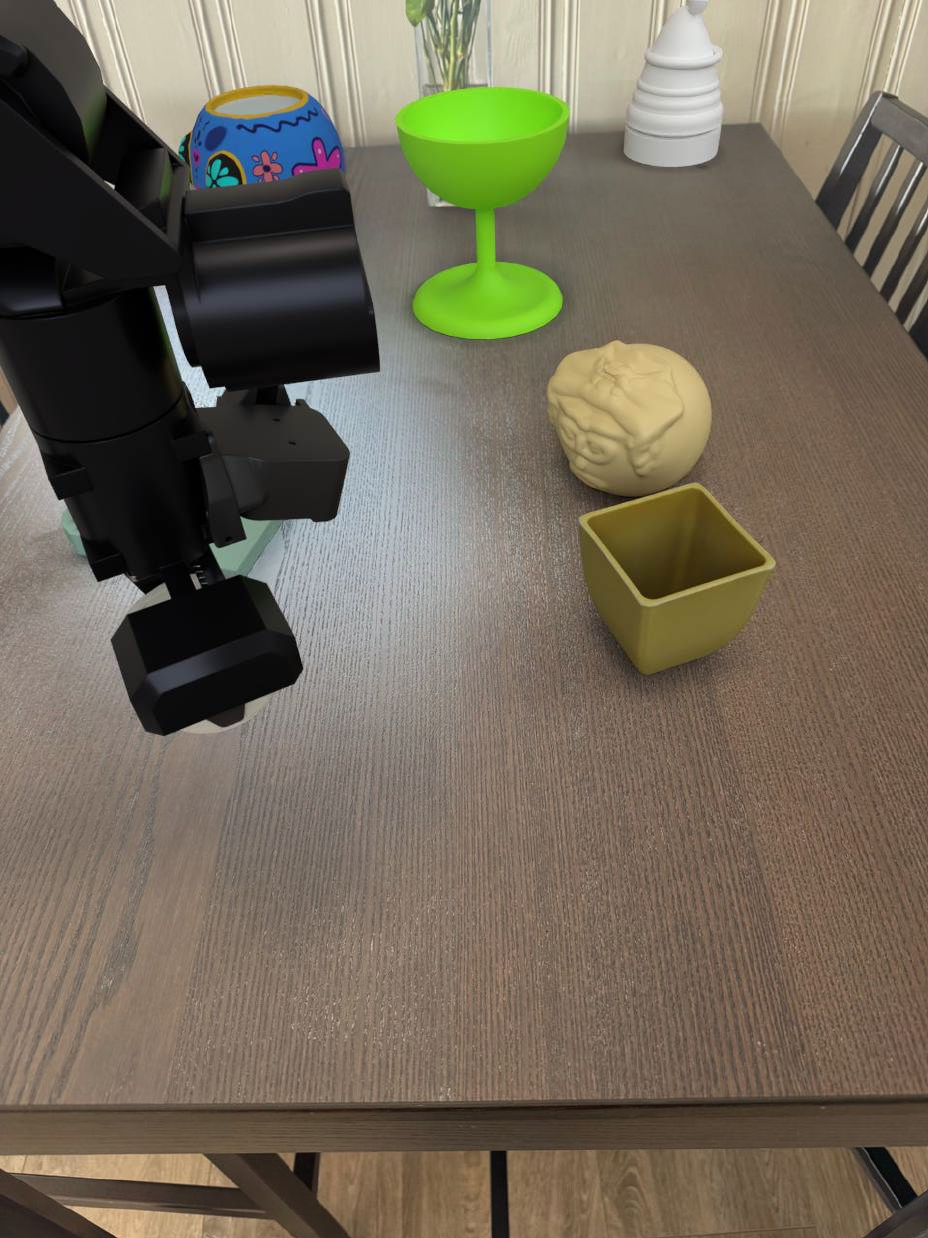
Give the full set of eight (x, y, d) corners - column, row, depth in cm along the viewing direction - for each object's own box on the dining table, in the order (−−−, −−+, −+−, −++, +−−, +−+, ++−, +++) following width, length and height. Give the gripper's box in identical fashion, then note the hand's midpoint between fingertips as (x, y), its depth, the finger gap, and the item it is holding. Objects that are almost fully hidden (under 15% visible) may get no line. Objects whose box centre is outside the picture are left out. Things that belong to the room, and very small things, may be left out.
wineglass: (393, 332, 89) (372, 140, 76) (434, 263, 99) (421, 84, 86) (548, 345, 86) (554, 147, 73) (573, 272, 96) (582, 88, 83)
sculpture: (524, 470, 72) (525, 351, 64) (624, 413, 77) (636, 296, 69) (627, 537, 65) (642, 414, 58) (729, 470, 70) (755, 349, 63)
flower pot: (568, 614, 60) (575, 514, 54) (680, 580, 62) (699, 478, 56) (629, 708, 54) (644, 607, 48) (750, 666, 56) (780, 564, 50)
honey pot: (737, 152, 119) (764, -7, 106) (663, 174, 115) (681, 11, 102) (676, 128, 127) (694, -24, 114) (604, 147, 123) (614, -8, 110)
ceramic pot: (188, 233, 108) (151, 98, 97) (315, 197, 115) (294, 66, 104) (244, 283, 98) (210, 138, 87) (381, 241, 104) (365, 100, 93)
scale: (61, 559, 67) (45, 529, 64) (148, 461, 75) (137, 432, 73) (235, 592, 63) (225, 562, 61) (306, 486, 72) (299, 456, 69)
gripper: (407, 462, 29) (437, 740, 40) (239, 255, 41) (299, 515, 52) (64, 577, 26) (201, 844, 37) (-11, 316, 37) (111, 580, 49)
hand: (211, 670), depth 44 cm, fingers closed on bowl, 7 cm apart
